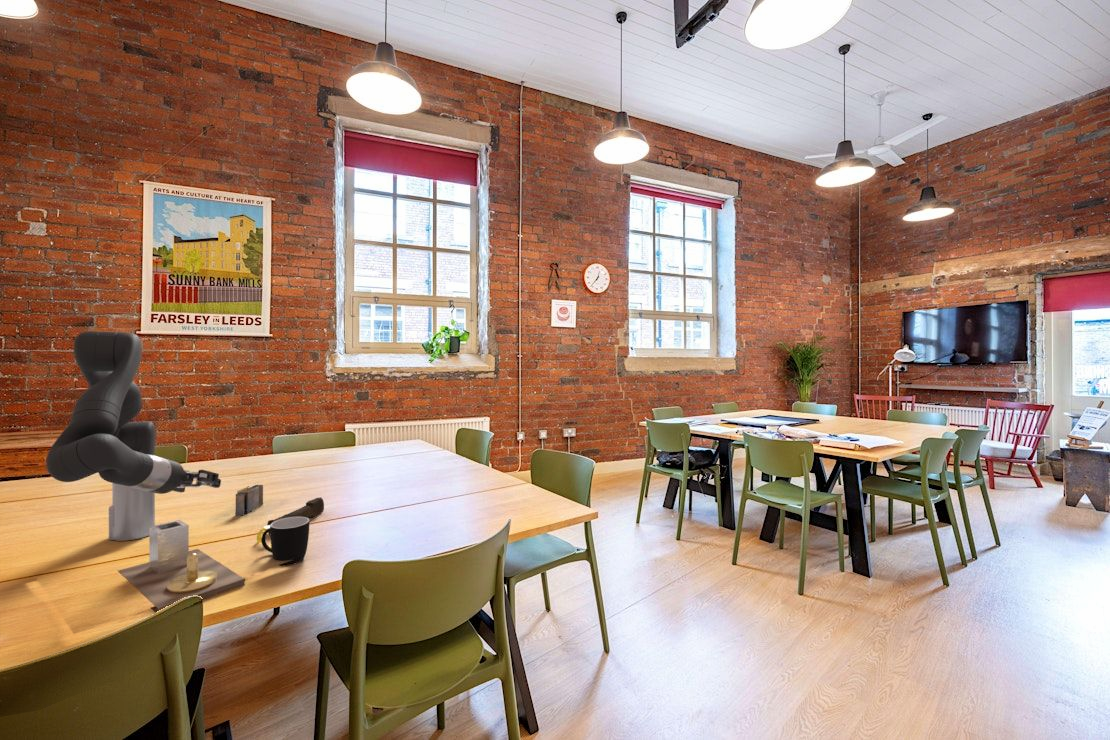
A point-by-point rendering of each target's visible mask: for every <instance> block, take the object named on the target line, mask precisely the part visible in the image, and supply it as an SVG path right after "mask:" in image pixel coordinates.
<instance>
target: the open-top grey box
mask: <svg viewBox="0 0 1110 740" xmlns="http://www.w3.org/2000/svg"><path fill="white" fill-rule="evenodd" d="M189 527H190V525H189V524H188V523H186V522H184V521H182V520H181V519H177V520H172V521H167V522H164V523H159V524H155V525H154V526H149V539H148V540H149V546H148V547H149V553H148V554H149V561H148V562H150V568H151V569H152V570H154V571H155V572H156V573H157V574H160V573H163V572H166V571H170V570H173V569H177V568H180V567H184V566H187V557H188V555H189V551H190V549H189V547H190V546H189V545H190V543H189V535H190V534H189V533H190V532H189V530H190V529H189Z"/></svg>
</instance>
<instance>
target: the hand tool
mask: <svg viewBox="0 0 1110 740" xmlns="http://www.w3.org/2000/svg"><path fill="white" fill-rule="evenodd" d="M324 510H325V503H324V499H323V497H315V498H314V499H311V500H307V502H305V505H304V506H302V507H300V508H297V509H296V510H294V511H291V512H289V513H287V514H284V515H282V516H279V517H278V518H275V519H271V520H268V521H267V524H266V526H267V525H271V523H273V522H274V521H276V520H279V519H283V518H288V517H306V518H308V519H312V518H313V519H314V518H317V517H318V516H319V515H321V513H323V512H324ZM267 534H269V535H270V531H269V532H268V533H267Z"/></svg>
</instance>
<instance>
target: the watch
mask: <svg viewBox="0 0 1110 740" xmlns="http://www.w3.org/2000/svg"><path fill="white" fill-rule="evenodd" d="M269 528H270V525H267V524H266V525H264V526H262V528H261V529H260V530H259V531H258V532H257V534H256V542H257V544H260V543H261V544H262V541H261V538H262V534H263V533H264V532H265V531H266V530H267V529H269ZM267 545H268V544H267ZM268 546H269V547H270V548H271V545H270V544H269V545H268Z"/></svg>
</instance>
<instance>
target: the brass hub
mask: <svg viewBox="0 0 1110 740" xmlns="http://www.w3.org/2000/svg"><path fill="white" fill-rule="evenodd" d="M216 580H217V573H216V572H214V571H198V555H197V554H196V553H192V554H190V555H188V557H187V574H184V575H181V576H178V577H176V578H174V579H172V580H171V581H169V582H168V584H167V591H168V592H169V593H172V594H184V593H190V592H195V591H198V590H201V589H204V588H206V587H209V586H210V585H212V584H214V583H215V582H216Z"/></svg>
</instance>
